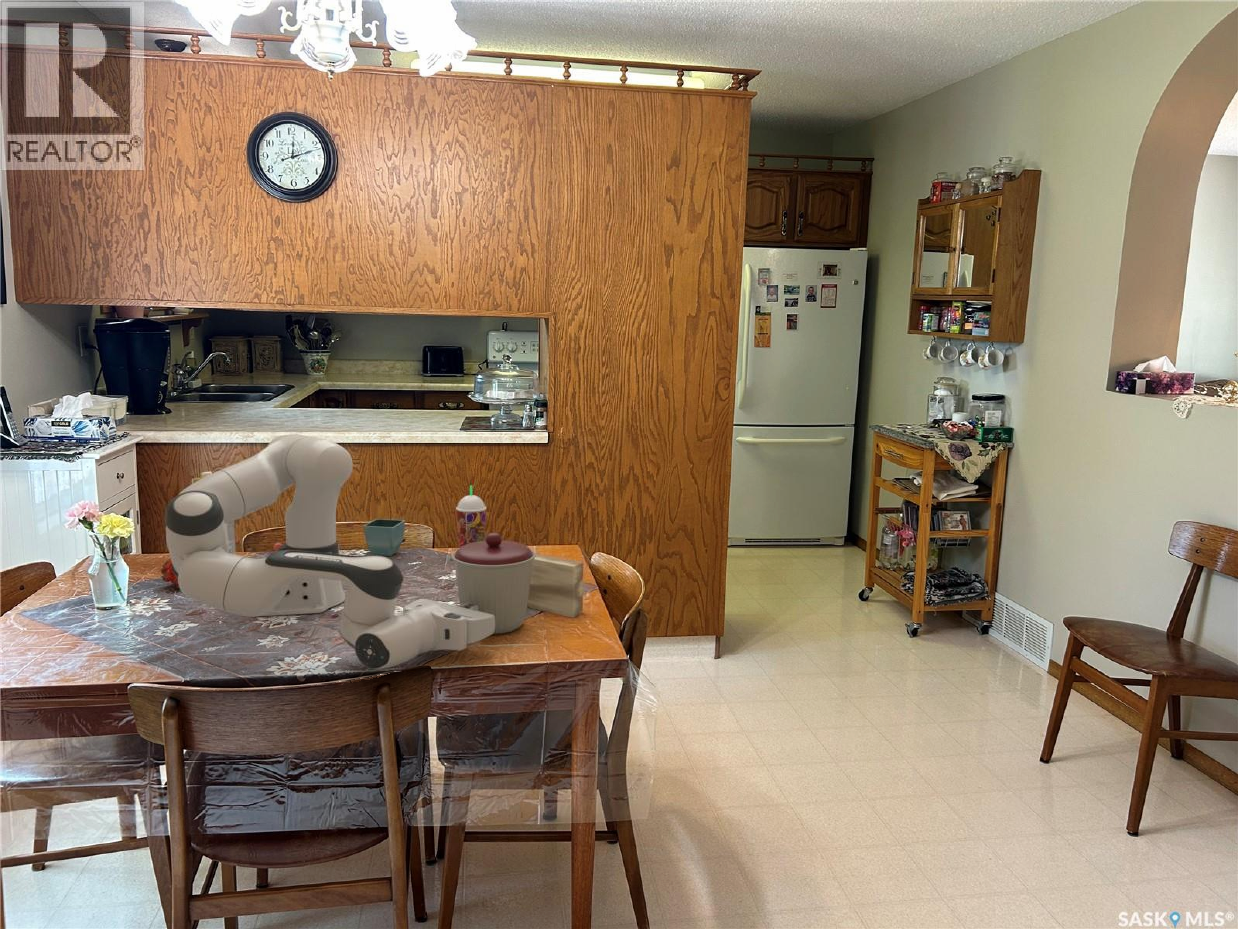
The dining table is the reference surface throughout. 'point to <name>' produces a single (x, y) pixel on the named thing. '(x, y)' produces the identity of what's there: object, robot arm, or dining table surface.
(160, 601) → the dining table surface
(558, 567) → the beige slab
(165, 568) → the dragon fruit
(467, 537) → the smoothie
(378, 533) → the flower pot
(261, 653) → the dining table surface
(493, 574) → the canister
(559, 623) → the dining table surface
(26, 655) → the dining table surface
